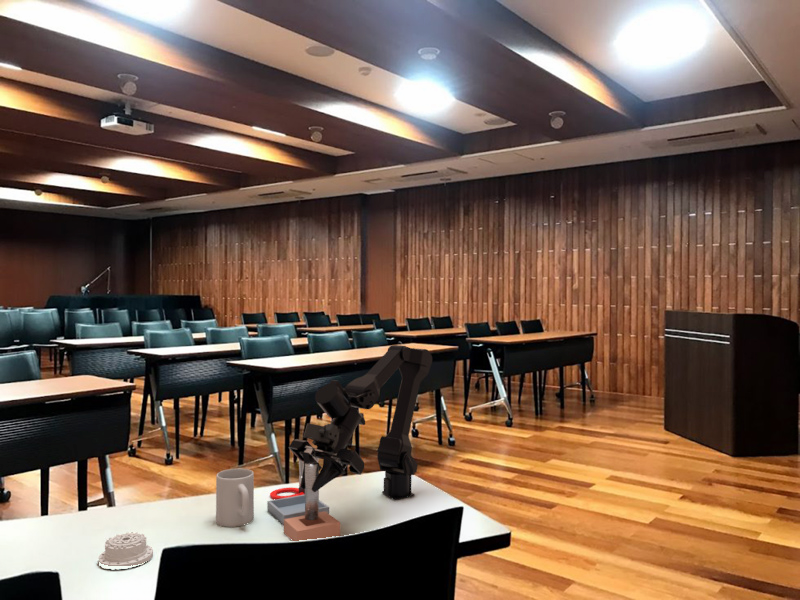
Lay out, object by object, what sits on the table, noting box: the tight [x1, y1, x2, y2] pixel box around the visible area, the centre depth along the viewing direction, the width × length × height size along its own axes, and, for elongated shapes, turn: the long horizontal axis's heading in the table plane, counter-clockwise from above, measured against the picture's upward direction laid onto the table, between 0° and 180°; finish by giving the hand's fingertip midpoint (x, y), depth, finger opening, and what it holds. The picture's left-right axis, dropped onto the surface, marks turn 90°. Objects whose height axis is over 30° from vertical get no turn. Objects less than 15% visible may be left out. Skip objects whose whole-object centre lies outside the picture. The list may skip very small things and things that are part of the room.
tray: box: [266, 495, 330, 527], centre depth 151 cm, size 11×11×2 cm
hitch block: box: [283, 511, 341, 542], centre depth 139 cm, size 10×8×3 cm
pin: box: [305, 462, 320, 520], centre depth 139 cm, size 3×3×12 cm
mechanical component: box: [98, 532, 154, 566], centre depth 126 cm, size 10×4×10 cm
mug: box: [215, 468, 255, 528], centre depth 146 cm, size 12×8×11 cm
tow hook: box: [269, 459, 305, 500], centre depth 165 cm, size 8×13×9 cm
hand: (307, 489), depth 138 cm, fingers closed on pin, 3 cm apart
